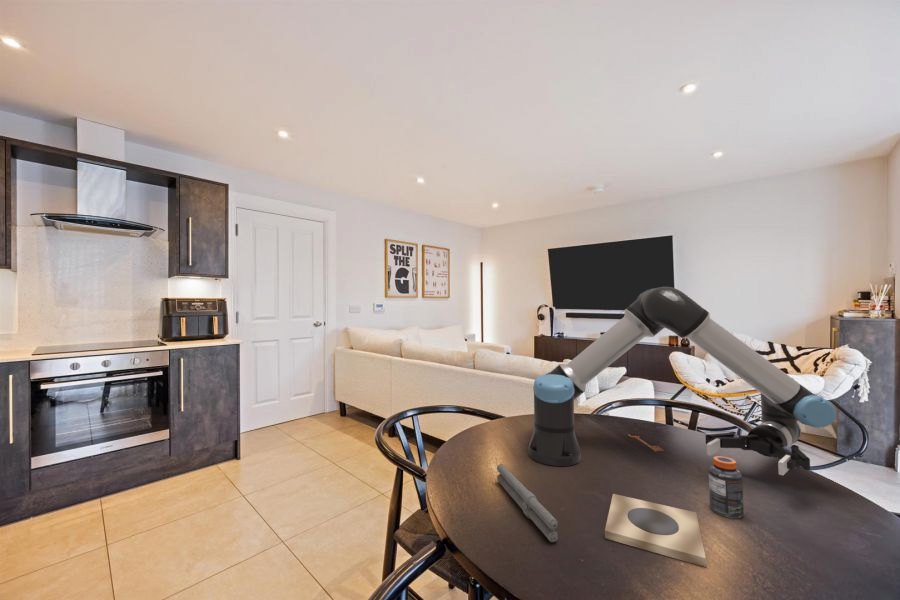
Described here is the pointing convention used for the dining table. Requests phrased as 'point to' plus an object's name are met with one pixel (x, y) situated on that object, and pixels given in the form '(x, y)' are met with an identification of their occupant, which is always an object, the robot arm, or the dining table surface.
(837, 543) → the dining table surface
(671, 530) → the stand
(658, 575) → the dining table surface
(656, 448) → the key
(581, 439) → the dining table surface
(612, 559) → the dining table surface
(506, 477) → the metal rod assembly
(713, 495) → the pill bottle
